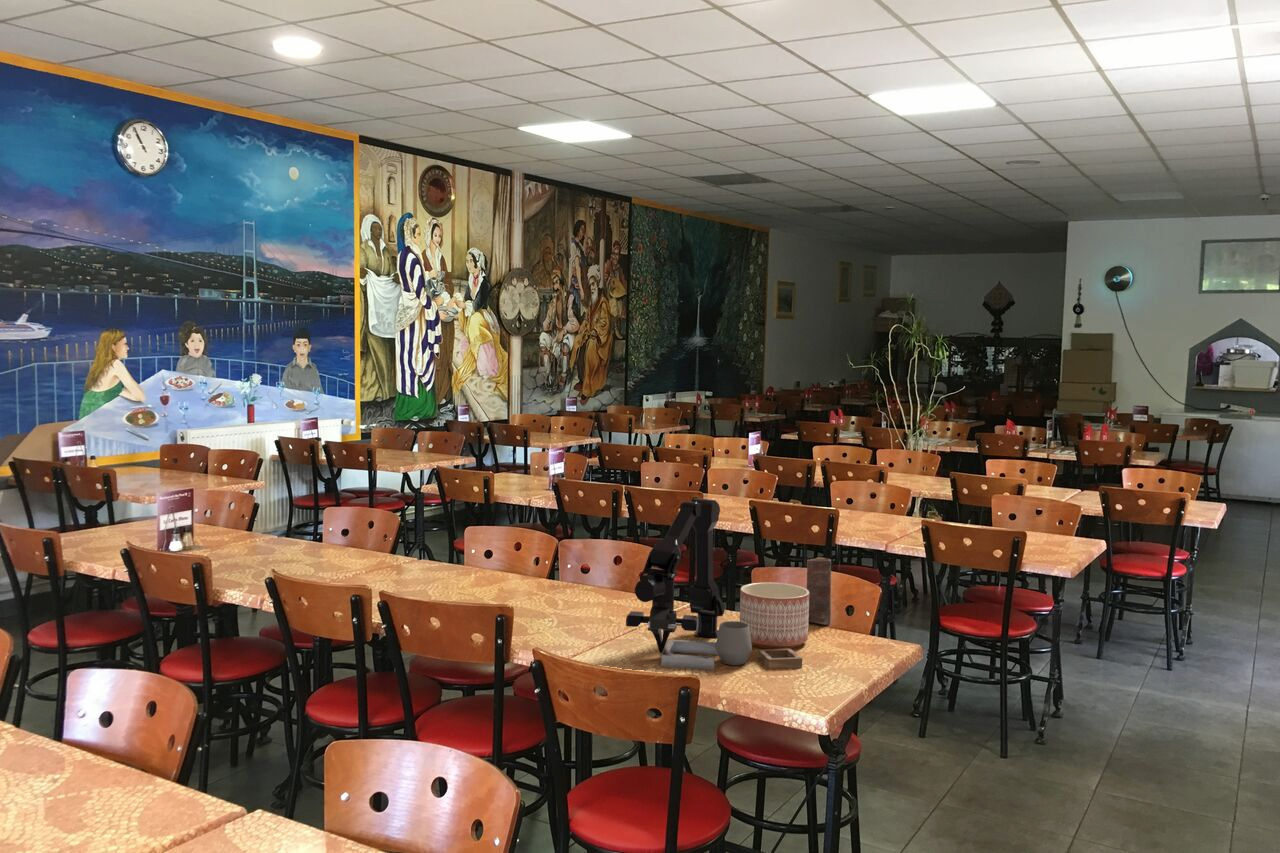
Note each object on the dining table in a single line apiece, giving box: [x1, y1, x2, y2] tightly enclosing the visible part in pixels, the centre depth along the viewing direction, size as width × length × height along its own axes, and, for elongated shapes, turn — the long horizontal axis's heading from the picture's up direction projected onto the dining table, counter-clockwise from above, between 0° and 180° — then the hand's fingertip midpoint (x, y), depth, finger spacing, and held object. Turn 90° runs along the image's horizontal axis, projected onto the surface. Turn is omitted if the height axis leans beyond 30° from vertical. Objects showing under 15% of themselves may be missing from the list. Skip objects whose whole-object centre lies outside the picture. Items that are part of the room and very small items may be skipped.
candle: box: [806, 556, 832, 626], centre depth 300 cm, size 8×7×20 cm
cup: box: [715, 620, 753, 666], centre depth 260 cm, size 10×9×10 cm
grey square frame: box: [660, 638, 719, 671], centre depth 261 cm, size 14×15×3 cm
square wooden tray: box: [757, 648, 803, 670], centre depth 260 cm, size 9×9×2 cm
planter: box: [739, 582, 809, 649], centre depth 280 cm, size 19×19×15 cm
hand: (661, 652), depth 263 cm, fingers closed
